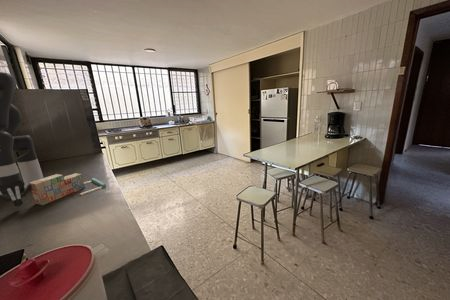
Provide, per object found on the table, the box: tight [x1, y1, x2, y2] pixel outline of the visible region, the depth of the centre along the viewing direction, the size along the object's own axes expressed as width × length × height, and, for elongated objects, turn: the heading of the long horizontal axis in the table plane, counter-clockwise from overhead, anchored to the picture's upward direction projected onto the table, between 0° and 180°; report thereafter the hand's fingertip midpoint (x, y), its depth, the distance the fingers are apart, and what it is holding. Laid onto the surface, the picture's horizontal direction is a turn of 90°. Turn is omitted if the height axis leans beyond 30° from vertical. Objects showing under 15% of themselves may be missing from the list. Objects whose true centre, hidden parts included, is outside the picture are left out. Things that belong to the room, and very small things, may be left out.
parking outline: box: [79, 177, 107, 196], centre depth 115 cm, size 19×13×2 cm
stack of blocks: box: [29, 172, 86, 206], centre depth 104 cm, size 21×6×12 cm, turn 158°
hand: (18, 205), depth 92 cm, fingers closed
